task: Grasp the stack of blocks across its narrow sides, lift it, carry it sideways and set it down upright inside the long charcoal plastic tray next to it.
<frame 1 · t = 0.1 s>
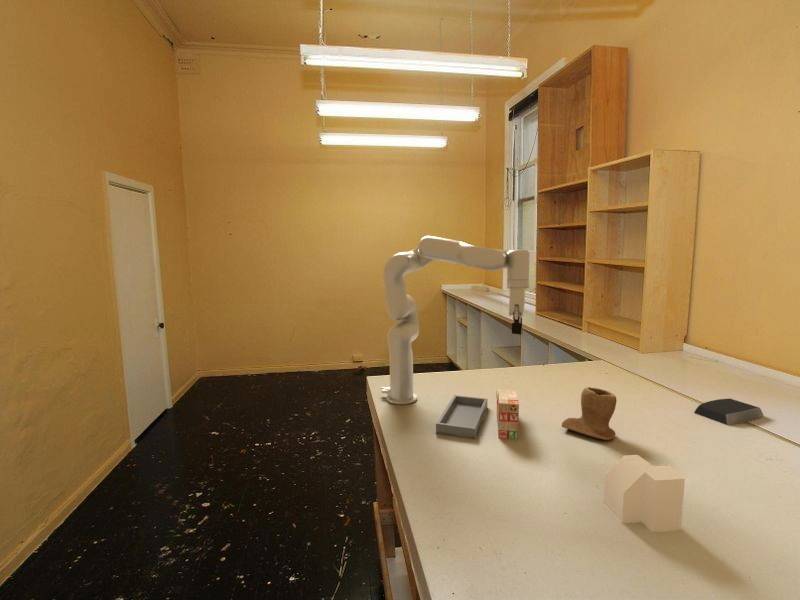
hand: (516, 331, 150), 31 cm above the worktop, tool pointing down, fingers open, 9 cm apart
brown suede boot: (590, 433, 138), on the worktop
external hard drive: (728, 416, 150), on the worktop
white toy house: (640, 516, 95), on the worktop
tray: (463, 419, 149), on the worktop
stack of blocks: (506, 426, 144), on the worktop
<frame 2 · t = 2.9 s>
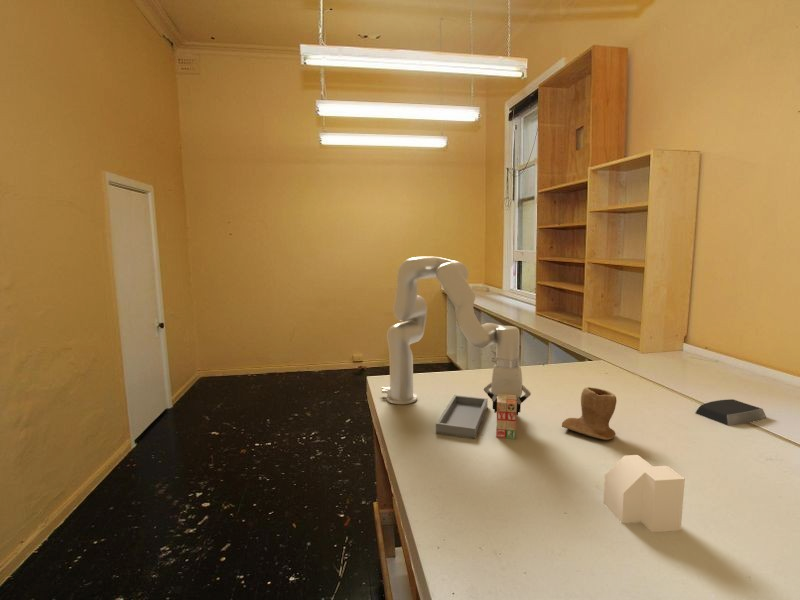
hand: (506, 412, 143), 5 cm above the worktop, tool pointing down, fingers closed on stack of blocks, 6 cm apart
stack of blocks: (506, 425, 144), on the worktop, touching gripper
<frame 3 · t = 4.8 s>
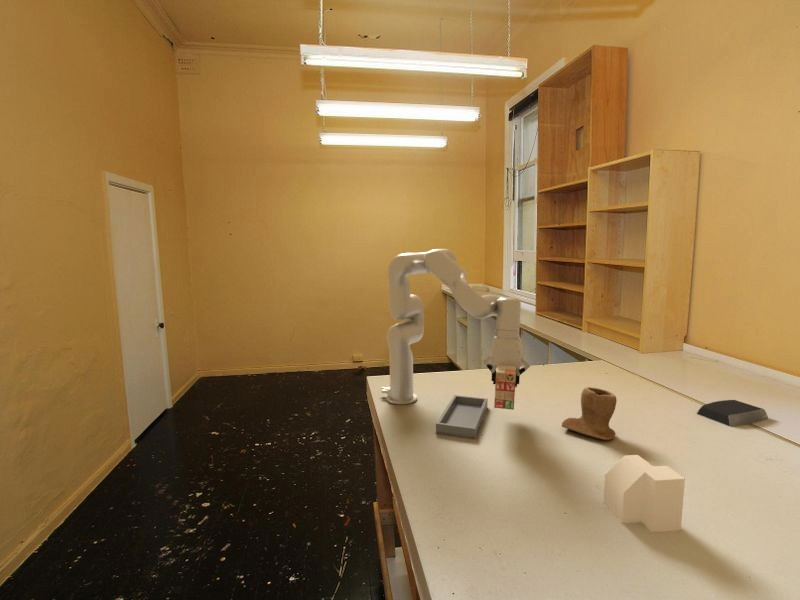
hand: (505, 384, 142), 15 cm above the worktop, tool pointing down, fingers closed on stack of blocks, 6 cm apart
stack of blocks: (504, 397, 144), point 10 cm above the worktop, touching gripper
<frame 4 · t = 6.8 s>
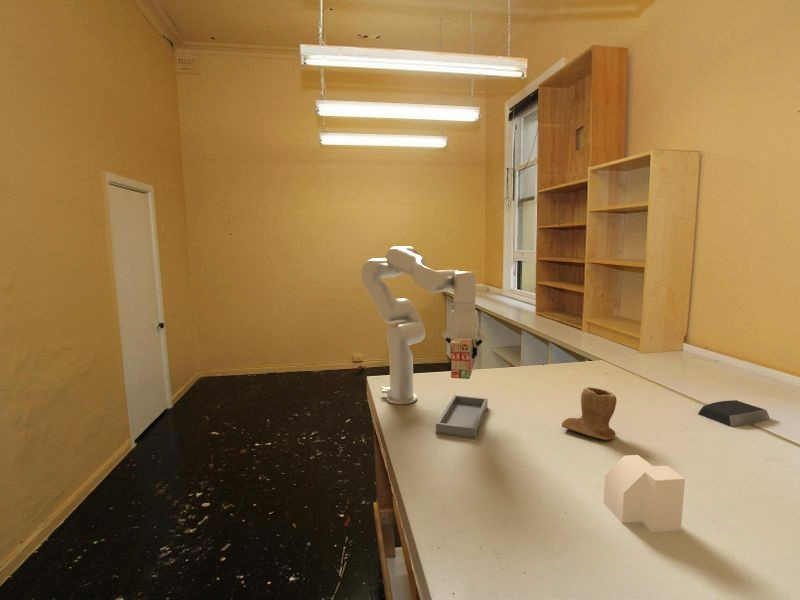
hand: (463, 356, 146), 23 cm above the worktop, tool pointing down, fingers closed on stack of blocks, 6 cm apart
stack of blocks: (463, 369, 147), point 18 cm above the worktop, touching gripper
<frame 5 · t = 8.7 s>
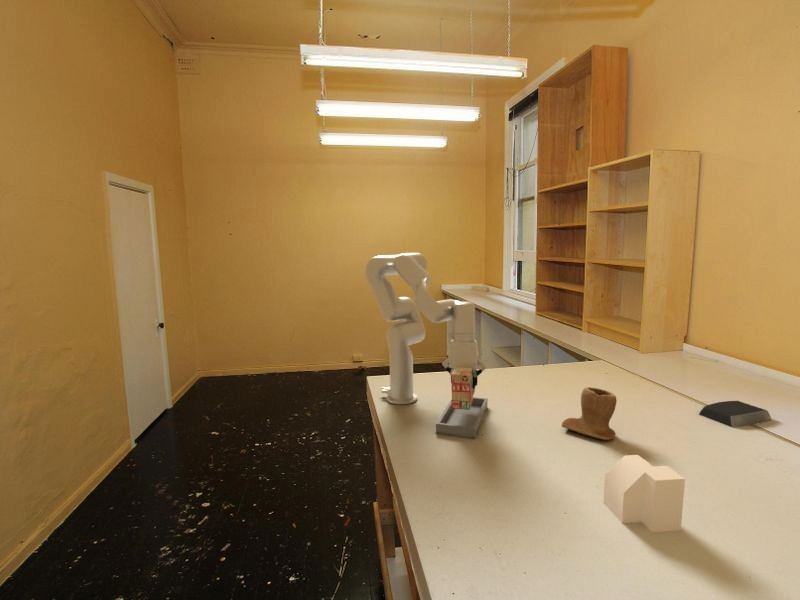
hand: (464, 385, 147), 13 cm above the worktop, tool pointing down, fingers closed on stack of blocks, 6 cm apart
stack of blocks: (464, 398, 148), point 8 cm above the worktop, touching gripper
when the fingers open (7 cm above the worktop, at t = 10.3 s): stack of blocks drops 1 cm, resting on tray.
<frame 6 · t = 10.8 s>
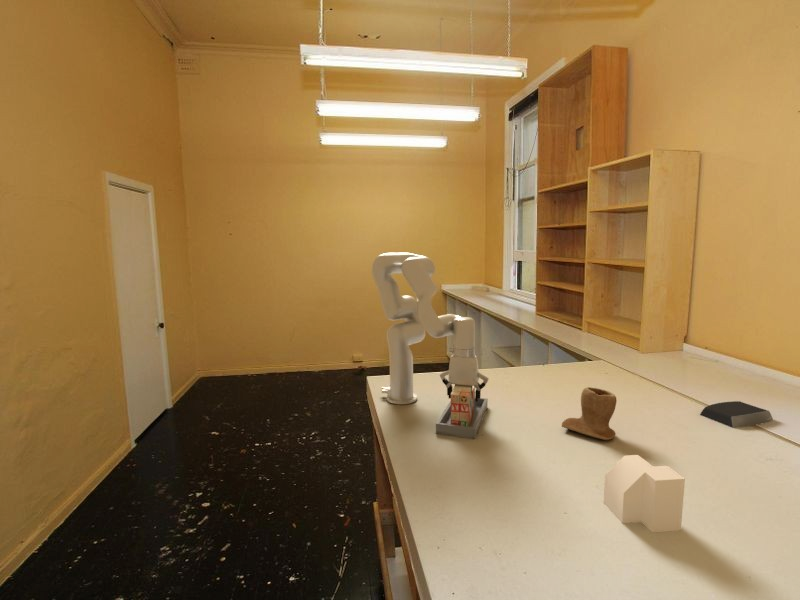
hand: (463, 398, 148), 8 cm above the worktop, tool pointing down, fingers open, 9 cm apart
stack of blocks: (463, 417, 150), point 1 cm above the worktop, touching tray
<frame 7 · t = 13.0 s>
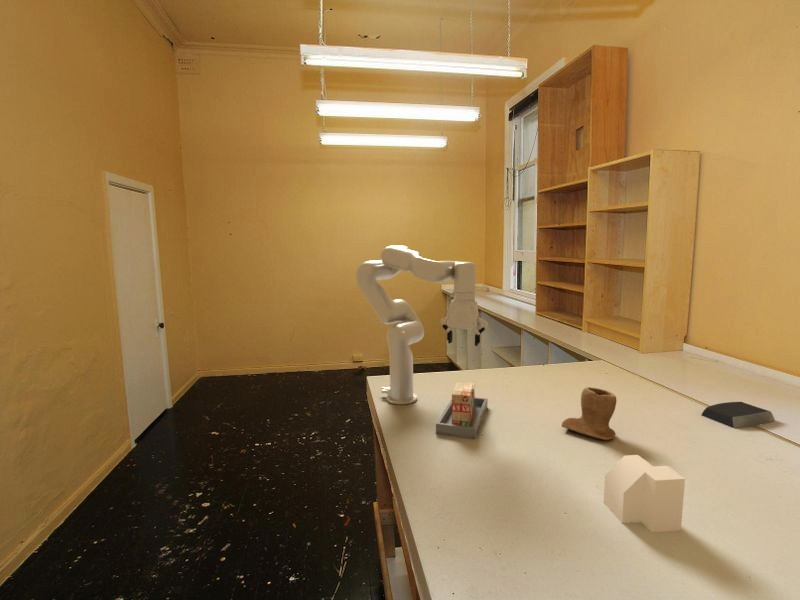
hand: (463, 343, 149), 27 cm above the worktop, tool pointing down, fingers open, 9 cm apart
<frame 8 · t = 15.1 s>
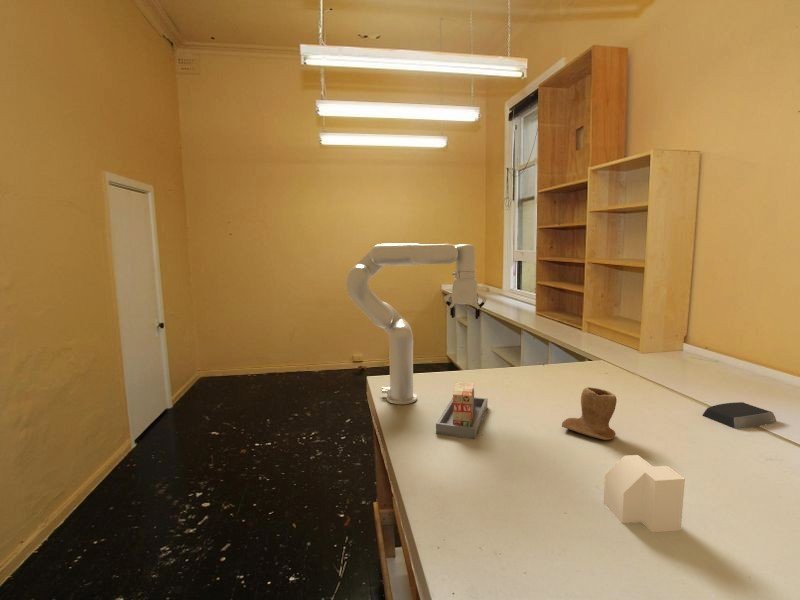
hand: (465, 317, 167), 33 cm above the worktop, tool pointing down, fingers open, 9 cm apart
at the end: stack of blocks 0.7 cm off-centre on the tray, point 0.6 cm above the tray's base; stack of blocks tilted 0°; the gripper is holding nothing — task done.
